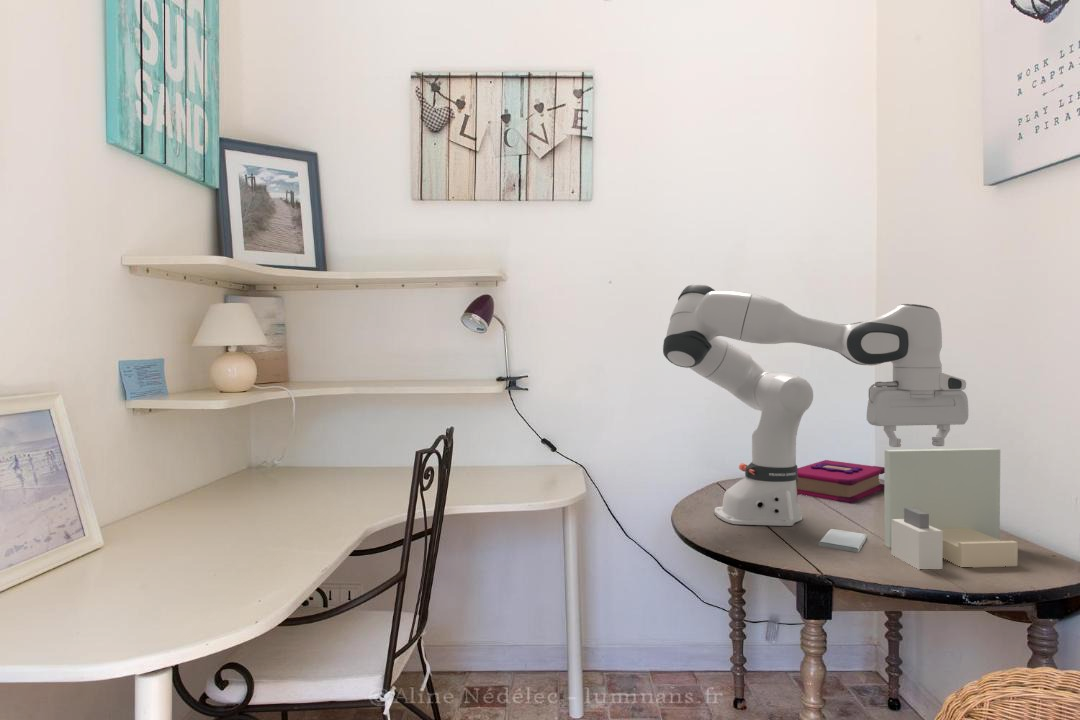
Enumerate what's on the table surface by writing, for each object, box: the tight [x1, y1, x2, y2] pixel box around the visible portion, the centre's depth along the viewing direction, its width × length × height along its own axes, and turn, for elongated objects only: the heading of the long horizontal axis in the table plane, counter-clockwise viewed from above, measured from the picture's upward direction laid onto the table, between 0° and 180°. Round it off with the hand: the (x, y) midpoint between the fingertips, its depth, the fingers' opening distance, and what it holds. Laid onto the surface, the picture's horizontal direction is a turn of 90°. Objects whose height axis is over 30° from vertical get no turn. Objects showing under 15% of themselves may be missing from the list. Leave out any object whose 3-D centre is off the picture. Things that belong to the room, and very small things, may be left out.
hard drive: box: [818, 528, 868, 554], centre depth 143 cm, size 2×8×12 cm
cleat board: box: [883, 447, 1019, 568], centre depth 134 cm, size 26×15×22 cm, turn 93°
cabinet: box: [890, 508, 943, 570], centre depth 130 cm, size 5×9×11 cm, turn 3°
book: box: [796, 459, 885, 504], centre depth 194 cm, size 21×28×8 cm
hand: (916, 446), depth 129 cm, fingers open, 8 cm apart
